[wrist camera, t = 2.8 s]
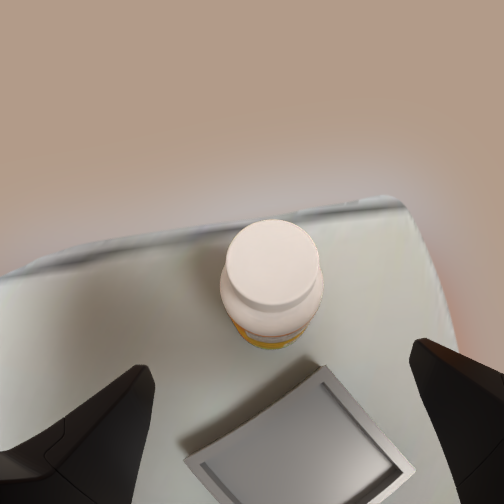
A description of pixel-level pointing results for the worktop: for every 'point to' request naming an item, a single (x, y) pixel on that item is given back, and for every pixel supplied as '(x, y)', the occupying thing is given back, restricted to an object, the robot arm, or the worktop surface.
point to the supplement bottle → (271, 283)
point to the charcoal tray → (304, 452)
